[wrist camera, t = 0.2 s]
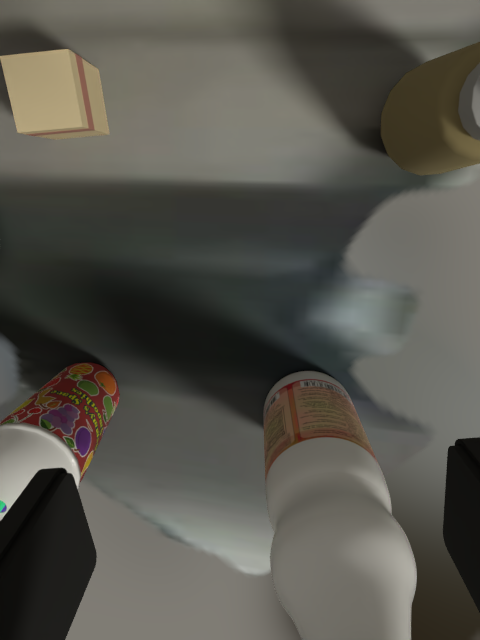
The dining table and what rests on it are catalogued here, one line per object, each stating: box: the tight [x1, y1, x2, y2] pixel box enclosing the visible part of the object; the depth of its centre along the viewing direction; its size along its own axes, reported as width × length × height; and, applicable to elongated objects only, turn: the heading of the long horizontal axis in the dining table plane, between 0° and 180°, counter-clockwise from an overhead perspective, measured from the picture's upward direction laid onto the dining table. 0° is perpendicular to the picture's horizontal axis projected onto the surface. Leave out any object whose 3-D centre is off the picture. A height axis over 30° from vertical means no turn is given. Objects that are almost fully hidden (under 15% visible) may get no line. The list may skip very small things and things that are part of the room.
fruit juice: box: [263, 371, 417, 640], centre depth 31 cm, size 9×9×28 cm
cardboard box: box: [0, 49, 109, 139], centre depth 33 cm, size 5×5×6 cm
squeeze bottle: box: [381, 42, 480, 175], centre depth 26 cm, size 8×8×18 cm
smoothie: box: [0, 363, 120, 521], centre depth 35 cm, size 8×8×20 cm
